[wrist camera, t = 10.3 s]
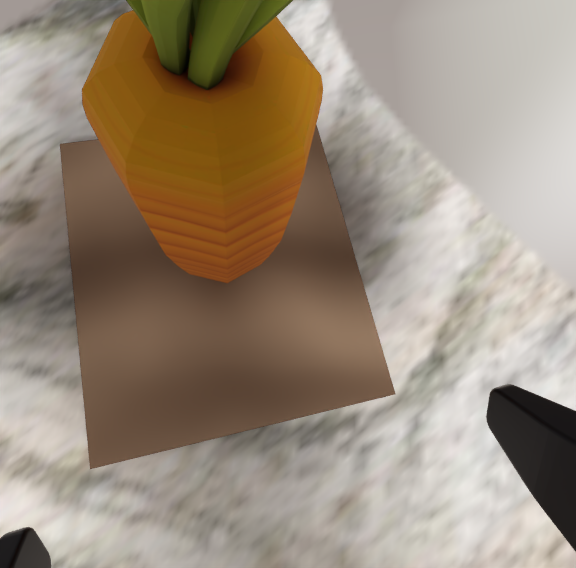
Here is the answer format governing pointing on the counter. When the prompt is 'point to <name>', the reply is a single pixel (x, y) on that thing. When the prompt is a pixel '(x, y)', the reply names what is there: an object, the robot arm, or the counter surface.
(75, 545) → the counter surface
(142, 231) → the walnut board
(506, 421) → the robot arm
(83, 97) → the carrot
